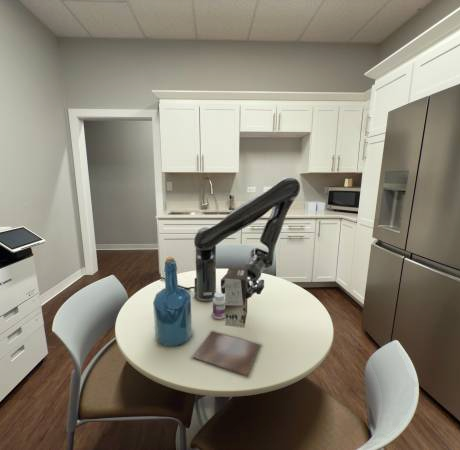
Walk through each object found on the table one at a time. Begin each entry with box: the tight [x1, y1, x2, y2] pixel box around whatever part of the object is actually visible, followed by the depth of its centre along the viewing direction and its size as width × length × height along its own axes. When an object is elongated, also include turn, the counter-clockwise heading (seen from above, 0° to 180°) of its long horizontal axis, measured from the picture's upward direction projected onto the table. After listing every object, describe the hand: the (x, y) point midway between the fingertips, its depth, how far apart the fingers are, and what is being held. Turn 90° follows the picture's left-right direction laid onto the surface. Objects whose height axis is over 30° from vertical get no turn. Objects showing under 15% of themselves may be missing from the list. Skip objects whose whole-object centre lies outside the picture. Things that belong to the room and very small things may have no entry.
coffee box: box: [224, 266, 248, 329], centre depth 79 cm, size 9×6×16 cm
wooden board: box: [193, 331, 260, 377], centre depth 83 cm, size 18×14×1 cm
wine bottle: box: [152, 256, 193, 347], centre depth 88 cm, size 14×13×30 cm
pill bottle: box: [212, 291, 225, 320], centre depth 102 cm, size 5×5×10 cm
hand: (234, 293), depth 77 cm, fingers closed on coffee box, 7 cm apart
